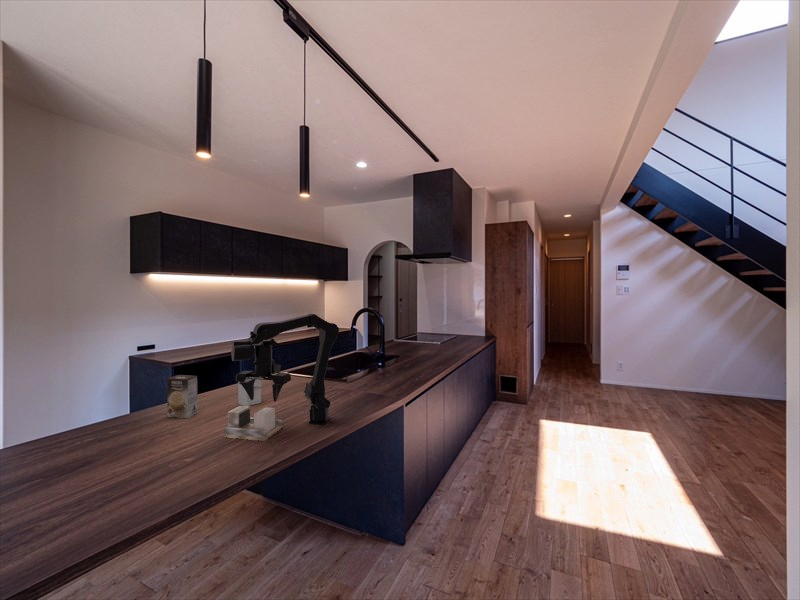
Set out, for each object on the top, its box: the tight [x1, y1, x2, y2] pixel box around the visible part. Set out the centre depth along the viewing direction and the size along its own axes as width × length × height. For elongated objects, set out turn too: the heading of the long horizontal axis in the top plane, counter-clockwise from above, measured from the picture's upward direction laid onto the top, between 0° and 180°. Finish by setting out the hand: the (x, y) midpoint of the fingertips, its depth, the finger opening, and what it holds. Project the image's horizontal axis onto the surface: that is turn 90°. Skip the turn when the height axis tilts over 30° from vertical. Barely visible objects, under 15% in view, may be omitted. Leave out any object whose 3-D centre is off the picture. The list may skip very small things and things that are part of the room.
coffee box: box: [167, 374, 198, 419], centre depth 143 cm, size 9×6×16 cm
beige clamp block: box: [223, 405, 283, 442], centre depth 127 cm, size 16×12×8 cm
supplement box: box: [237, 379, 262, 407], centre depth 159 cm, size 7×7×13 cm
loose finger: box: [253, 407, 276, 432], centre depth 126 cm, size 5×7×7 cm, turn 169°
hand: (263, 400), depth 126 cm, fingers open, 9 cm apart
